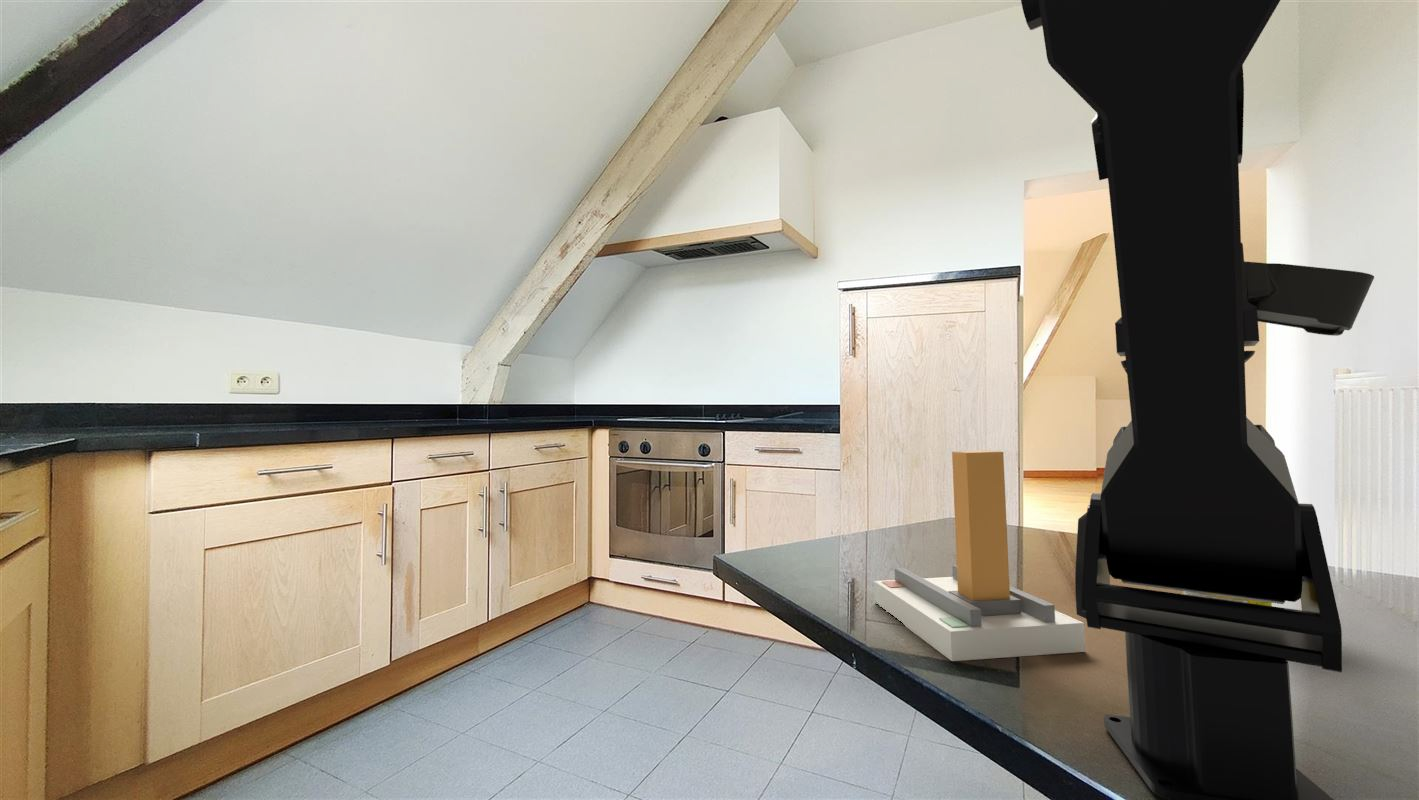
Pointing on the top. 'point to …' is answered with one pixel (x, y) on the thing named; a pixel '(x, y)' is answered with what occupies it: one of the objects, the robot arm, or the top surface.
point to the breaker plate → (976, 620)
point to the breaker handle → (982, 532)
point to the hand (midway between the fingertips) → (1190, 467)
